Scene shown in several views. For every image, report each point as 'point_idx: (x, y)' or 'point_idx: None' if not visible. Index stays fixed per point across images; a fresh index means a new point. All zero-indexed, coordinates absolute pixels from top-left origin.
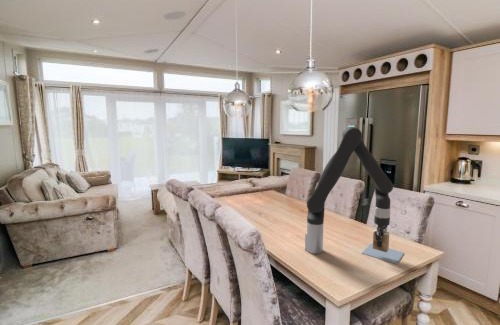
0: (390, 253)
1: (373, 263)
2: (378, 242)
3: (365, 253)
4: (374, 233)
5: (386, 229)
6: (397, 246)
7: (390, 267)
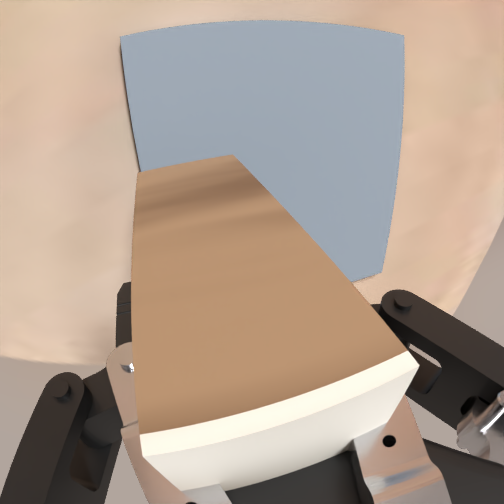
0: (316, 228)
1: (37, 224)
2: (121, 341)
3: (134, 72)
4: (146, 400)
5: (454, 415)
6: (448, 199)
7: (102, 319)
